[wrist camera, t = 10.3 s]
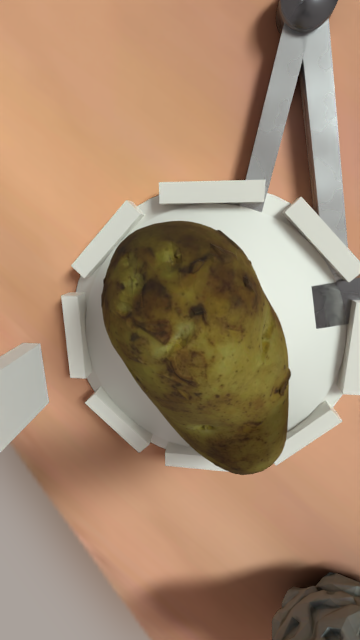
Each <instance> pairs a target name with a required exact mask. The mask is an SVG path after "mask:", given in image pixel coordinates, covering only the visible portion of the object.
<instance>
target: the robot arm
mask: <svg viewBox="0 0 360 640" xmlns="http://www.w3.org/2000/svg"><path fill="white" fill-rule="evenodd" d="M48 403H49V399H48V392H47V385H46V379H45V372H44V366H43V359H42V352H41V346H40V344H37V343H22V344H20V345H19V346H17V347H15V348H14V349H12V350H10V351H9V352H7V353H5V354H4V355H2V356H0V452H1V451H2V450H3V449H4V448H5V447H6V446H7V445H8V444H9V443H10V442H11V441H12V440H13V439H14V438H15V437H16V436H17V435H18V434H19V433H20V432H21V431H22V430H23V429H24V428H25V427H26V426H27V425H28V424H29V423H30V422H31V421H32V420H33V418H34V417H35V416H36V415H37V414H38V413H39V412H40V411H41V410H42V409H43V408H44V407H45V406H46V405H47V404H48Z"/></svg>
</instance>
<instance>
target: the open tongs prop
mask: <svg viewBox="0 0 360 640" xmlns="http://www.w3.org/2000/svg"><path fill="white" fill-rule="evenodd" d="M337 1H338V0H279V4H278V8H277V13H276V24H277V28H278V31H279V33H280V35H281V36H280V40H279V44H278V48H277V53H276V57H275V61H274V65H273V69H272V73H271V77H270V81H269V85H268V89H267V93H266V97H265V101H264V106H263V110H262V114H261V118H260V122H259V126H258V130H257V134H256V138H255V142H254V146H253V150H252V154H251V159H250V163H249V167H248V171H247V175H246V179H245V180H266V181H265V197H264V202H265V199H266V195H267V191H268V187H269V184H270V180H271V176H272V172H273V169H274V165H275V161H276V157H277V154H278V150H279V146H280V142H281V139H282V135H283V131H284V128H285V124H286V120H287V116H288V113H289V109H290V105H291V101H292V98H293V94H294V90H295V86H296V83H297V79H298V75H299V79H300V89H301V98H302V108H303V117H304V126H305V136H306V145H307V154H308V164H309V173H310V182H311V192H312V201H313V210H314V211H315V212H316V213H317V214H318V216H319V217H320V218H321V219H322V220H323V221H324V222H325V223H326V224H327V226H328V227H329V228H330V229H331V230H332V231H333V232H334V233H335V234H336V236H337V237H338V238H339V239H340V240H341V241H342V242H343V243H344V244H345V246H346V247H347V248H348V244H347V232H346V220H345V208H344V196H343V184H342V172H341V160H340V148H339V136H338V124H337V112H336V100H335V88H334V76H333V64H332V52H331V41H330V29H329V18H330V16H331V14H332V12H333V10H334V8H335V6H336V4H337ZM264 202H263V203H240V205H239V206H240V207H245V208H250V209H253V210H256V211H259V212H262V210H263V206H264ZM324 261H325V259H324ZM325 262H326V261H325ZM326 264H327V265H328V267H329V269H330V270H331V272H332V274H333V276H334V277H335V280H336V282H337V284H335V283H332V284H335V286H336V288H337V289H338V291H339V290H340V295H341V296H342V297H341V296H339V297H340V298H341V299H342V302H343V304H344V305H342V303H340V305H341V307H343V309H344V310H345V312H344V313H345V314H344V313H343V315H345V316H346V319H345V317H344V316H343V315H342V316H341V314H340V313H341V309H342V308H341V309H340V305H339V303H337V302H338V301H336V300H337V299H338V298H339V297H337V299H336V300H335V302H336V304H338V305H339V309H338V308H337V309H338V310H340V311H339V314H340V316H339V317H338V314H337V313H338V312H336V311H334V313H336V314H337V315H336V314H335V316H333V314H334V313H333V310H331V309H334V308H333V307H335V308H336V306H337V305H336V304H334V303H335V302H334V300H330V299H328V298H330V297H332V298H331V299H335V298H336V296H338V295H337V294H336V293H337V292H338V291H337V290H336V291H334V289H333V288H331V285H332V284H331V285H330V283H329V284H328V285H330V286H329V288H331V289H333V290H332V291H331V290H330V289H329V288H328V289H327V287H328V286H327V284H326V286H327V287H326V286H325V285H324V284H322V285H323V286H325V287H326V288H325V287H324V290H322V289H323V286H322V285H320V286H321V287H322V288H321V287H320V286H319V285H316V286H317V287H318V289H319V290H318V289H317V287H316V286H314V288H313V287H312V286H311V287H312V296H313V297H314V298H313V302H314V303H313V305H314V313H315V322H316V329H319V328H322V327H323V328H326V327H332V326H333V325H335V324H336V325H338V324H340V325H341V323H342V325H344V324H349V318H350V311H351V304H352V300H360V274H359V275H358V276H357V277H355V278H354V279H353V280H352V281H350V282H346V281H344V280H343V279H342V278H341V277H340V276H339V275H338V274H337V273H336V272H335V270H334V269H333V268H332V267H331V266H330V265H329V264H328V263H327V262H326ZM333 286H334V285H332V287H333ZM335 286H334V288H335ZM319 287H320V288H321V289H320V288H319ZM325 290H327V293H326V291H325ZM328 290H330V292H331V293H329V291H328ZM316 291H317V293H316ZM320 291H321V292H320ZM324 291H325V292H324ZM333 292H335V294H336V295H335V294H333V295H335V298H334V296H331V295H332V293H333ZM323 293H324V294H323ZM329 294H330V297H328V295H329ZM338 294H339V292H338ZM318 295H319V296H318ZM325 295H326V296H325ZM324 296H325V297H326V298H325V297H324ZM323 298H324V300H325V299H326V300H325V301H324V300H323ZM327 299H328V303H327ZM329 300H330V301H329ZM323 301H324V302H326V303H323ZM331 301H332V303H333V307H331V308H330V306H332V304H331ZM340 301H341V300H340ZM340 301H339V302H340ZM316 302H317V303H316ZM315 304H316V305H315ZM329 304H330V306H329ZM324 305H325V306H324ZM326 305H327V307H326ZM334 305H335V306H334ZM317 307H318V308H317ZM328 307H329V308H330V309H329V308H328ZM337 307H338V306H337ZM324 308H325V309H324ZM327 308H328V310H326V309H327ZM319 309H320V310H319ZM323 309H324V310H323ZM335 310H336V309H335ZM338 310H337V311H338ZM325 311H326V312H325ZM328 311H329V312H331V311H332V312H331V313H329V312H328ZM342 312H343V311H342ZM321 313H322V314H321ZM325 313H326V314H327V316H328V317H326V314H325ZM332 313H333V314H332ZM316 314H317V315H316ZM329 315H330V316H329ZM331 315H332V316H333V317H334V318H331V319H332V320H333V321H334V320H336V318H337V317H338V319H340V317H341V318H342V317H344V319H342V320H344V322H345V320H346V323H344V322H342V321H341V322H339V321H340V320H341V319H340V320H339V321H338V320H337V321H338V322H337V321H334V322H335V323H334V322H333V321H332V320H330V319H329V318H330V317H332V316H331ZM322 316H323V318H321V317H322ZM328 319H329V320H328ZM316 320H317V321H316ZM320 320H321V321H320ZM322 320H323V321H324V322H323V321H322ZM330 321H331V323H332V322H333V324H332V326H330V325H331V323H330ZM318 322H319V323H318ZM336 322H337V323H338V324H337V323H336ZM323 323H324V324H323ZM327 323H328V324H327ZM329 323H330V325H329ZM343 323H344V324H343ZM319 325H320V326H319ZM321 325H322V326H321ZM336 325H335V326H336ZM338 326H339V325H338Z"/></svg>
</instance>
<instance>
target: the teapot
mask: <svg viewBox="0 0 360 640" xmlns="http://www.w3.org/2000/svg"><path fill="white" fill-rule="evenodd" d="M272 640H360V582H358V581H355V580H353V579H350V578H347V577H345V576H342V575H340V574H337V573H330V572H329V573H328V574H327V575H325V576H324V577H323V578H322V579H321V580H320V582H319V583H318V584H317V585H316V586H311V587H307V588H298V587H292V588H291V589H289V590H288V591H287V593H286V595H285V597H284V599H283V601H282V608H281V609H280V610H278V611H277V613H276V614H275V616H274V617H273V620H272Z"/></svg>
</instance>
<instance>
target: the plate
mask: <svg viewBox="0 0 360 640" xmlns="http://www.w3.org/2000/svg"><path fill="white" fill-rule="evenodd" d="M265 181H266V180H230V181H193V182H159V195H158V196H156V197H153V198H151V199H149V200H147V201H145V202H144V203H142V204H140V205H138V206H136V205H135V204H134V203H133V202H132V201H129V200H126V201H125V202H124V204H123V205H122V206H121V207H120V208H119V209H118V211H117V212H116V213H115V214H114V215H113V217H112V218H111V219H110V220H109V221H108V222H107V224H106V225H105V226H104V227H103V228H102V230H101V231H100V232H99V233H98V234H97V236H96V237H95V238H94V239H93V240H92V241H91V243H90V244H89V245H88V246H87V247H86V249H85V250H84V251H83V252H82V253H81V254H80V256H79V257H78V258H77V259H76V260H75V262H74V263H73V264H72V265H71V266H72V267H73V268H74V269H75V270H76V271H77V272H78V273H79V274H80V275H81V276H80V279H79V281H78V286H77V290H76V292H69V293H66V294H64V295H61V299H62V308H63V317H64V326H65V335H66V344H67V352H68V361H69V370H70V378H84V379H86V378H87V380H88V382H89V383H90V385H91V387H92V388H93V390H94V393H93V394H92V395H91V396H90V397H89V398H88V400H87V401H86V402H85V404H86V405H88V406H89V407H90V408H91V409H92V410H93V411H94V412H95V413H96V414H97V415H98V416H99V417H101V418H102V419H103V420H104V421H105V422H106V423H107V424H108V425H109V426H110V427H111V428H113V429H114V430H115V431H116V432H117V433H118V434H119V435H120V436H121V437H122V438H123V439H124V440H126V441H127V442H128V443H129V444H130V445H131V446H132V447H133V448H134V449H135V450H136V451H138V452H139V453H140V452H141V451H142V450H143V449H145V448H146V447H147V446H148V445H149V444H150V442H151V443H153V444H155V445H157V446H159V447H162V448H164V449H166V451H165V466H174V467H185V468H195V469H206V470H216V471H226V470H224V469H222V468H220V467H218V466H216V465H214V464H213V463H211V462H210V461H209V460H207V459H206V458H204V457H203V456H201V455H200V454H199V453H197V452H196V451H195V450H194V449H193V448H192V447H191V446H190V445H189V444H188V443H187V442H186V441H185V440H184V439H183V438H182V437H181V436H180V435H179V434H178V433H177V432H176V431H175V429H174V428H173V427H172V426H171V425H170V424H169V422H168V421H167V420H166V419H165V418H164V416H163V415H162V414H161V412H160V411H159V410H158V408H157V407H156V406H155V405H154V404H153V403H152V401H151V400H150V399H149V398H148V396H147V395H146V394H145V393H144V392H143V390H142V389H141V388H140V386H139V385H138V384H137V382H136V381H135V379H134V378H133V376H132V375H131V373H130V372H129V370H128V368H127V367H126V365H125V363H124V362H123V360H122V359H121V357H120V356H119V354H118V353H117V352H116V350H115V349H114V347H113V345H112V343H111V341H110V339H109V336H108V334H107V331H106V328H105V325H104V320H103V313H102V307H101V294H102V291H103V286H104V283H103V279H104V278H105V276H106V272H107V269H108V267H109V264H110V261H111V258H112V256H113V254H114V252H115V250H116V248H117V247H118V245H119V244H120V243H121V242H122V241H123V240H124V239H125V238H126V237H127V236H128V235H130V234H131V233H133V232H134V231H136V230H138V229H140V228H143V227H146V226H149V225H152V224H156V223H162V222H168V221H189V222H195V223H199V224H202V225H205V226H208V227H211V228H213V229H215V230H220V231H222V232H223V233H224V234H225V235H226V236H228V237H229V238H230V239H231V240H233V241H234V242H235V243H236V244H237V245H238V246H239V247H240V248H241V249H242V250H243V252H244V253H245V254H246V256H247V257H248V259H249V260H250V261H251V263H252V266H253V268H254V270H255V273H256V275H257V277H258V280H259V282H260V285H261V287H262V289H263V291H264V293H265V295H266V297H267V298H268V300H269V302H270V304H271V306H272V307H273V309H274V311H275V312H276V314H277V316H278V318H279V321H280V323H281V326H282V329H283V333H284V336H285V340H286V345H287V351H288V365H289V369H290V371H291V377H290V379H289V410H288V429H287V437H286V442H285V446H284V449H283V451H282V453H281V455H280V456H279V458H278V459H277V460H276V461H275V462H274V464H275V465H278V464H279V463H281V462H282V461H284V460H285V459H287V458H288V457H290V456H291V455H293V454H294V453H296V452H297V451H299V450H300V449H302V448H303V447H305V446H306V445H308V444H309V443H311V442H312V441H314V440H315V439H317V438H318V437H320V436H321V435H323V434H324V433H326V432H327V431H329V430H330V429H332V428H333V427H335V426H336V425H338V424H339V423H341V422H342V420H341V418H340V416H339V415H338V413H337V411H336V410H335V409H334V408H333V407H334V405H335V404H336V403H337V401H338V400H339V399H340V397H341V396H342V394H350V395H360V300H352V304H351V311H350V318H349V324H344V323H346V320H345V322H344V320H342V319H344V317H345V319H346V316H345V315H343V313H344V312H345V310H344V309H343V307H341V305H340V303H342V305H344V304H343V302H342V299H341V298H340V297H339V296H341V295H340V290H339V291H338V289H337V288H336V286H335V284H337V282H336V280H335V277H334V276H333V274H332V272H331V270H330V269H329V267H328V265H327V264H326V262H327V263H328V264H329V265H330V266H331V267H332V268H333V269H334V270H335V272H336V273H337V274H338V275H339V276H340V277H341V278H342V279H343V280H344V281H346V282H350V281H352V280H353V279H354V278H355V277H357V276H358V275H359V274H360V261H359V260H358V259H357V258H356V257H355V256H354V254H353V253H352V252H351V251H350V250H349V249H348V248H347V247H346V246H345V244H344V243H343V242H342V241H341V240H340V239H339V238H338V237H337V236H336V234H335V233H334V232H333V231H332V230H331V229H330V228H329V227H328V226H327V224H326V223H325V222H324V221H323V220H322V219H321V218H320V217H319V216H318V214H317V213H316V212H315V211H314V210H313V209H312V208H311V207H310V206H309V204H308V203H307V202H306V201H305V200H304V199H303V198H302V197H299V198H297V199H296V200H295V201H294V202H293V203H292V204H291V203H289V202H287V201H285V200H283V199H281V198H279V197H277V196H275V195H272V194H269V193H267V195H266V199H265V202H264V197H265ZM263 202H264V206H263V210H262V212H259V211H256V210H253V209H250V208H245V207H240V206H239V205H240V203H263ZM324 259H325V261H326V262H325V261H324ZM329 283H330V285H331V284H332V283H335V284H332V285H334V286H335V288H334V286H333V287H332V285H331V288H333V289H334V291H336V290H337V291H338V292H339V294H338V292H337V293H336V294H337V295H338V296H336V298H335V295H336V294H335V292H333V293H332V295H331V296H334V298H335V299H331V298H332V297H330V294H329V295H328V297H330V298H328V299H330V300H334V302H335V300H336V299H337V297H339V298H338V299H337V300H336V301H338V302H337V303H339V305H340V309H341V308H342V309H341V313H340V314H341V316H342V315H343V316H344V317H342V318H341V317H340V319H341V320H340V319H338V317H339V316H340V314H339V311H340V310H338V309H339V305H338V304H336V302H335V303H334V304H336V305H337V306H338V307H337V306H336V308H335V307H333V303H332V301H331V304H332V306H330V304H329V306H330V308H331V307H333V308H334V309H331V310H333V313H334V311H336V312H338V313H337V314H338V317H337V318H336V320H334V321H337V320H338V321H339V320H340V321H339V322H341V321H342V322H344V323H343V324H344V325H342V323H341V325H340V324H338V323H337V322H338V321H337V322H336V323H337V324H338V325H339V326H338V325H336V324H335V325H336V326H335V325H333V326H332V324H333V322H334V321H333V320H332V319H331V318H334V317H333V316H335V314H336V313H334V314H333V313H332V314H333V316H332V315H331V316H332V317H330V318H329V319H330V320H332V321H333V322H332V323H331V321H330V323H331V325H330V323H329V325H330V326H332V327H326V328H323V327H322V328H319V329H316V322H315V313H314V305H313V303H314V302H313V298H314V297H313V296H312V287H313V288H314V286H316V285H319V286H320V285H322V284H324V285H325V286H326V284H327V286H328V287H327V286H326V287H327V289H328V288H329V286H330V285H328V284H329ZM311 286H312V287H311ZM322 286H323V285H322ZM325 286H323V289H322V290H324V287H325ZM316 287H317V286H316ZM320 287H321V286H320ZM320 287H319V288H320ZM326 287H325V288H326ZM321 288H322V287H321ZM321 288H320V289H321ZM331 288H329V289H330V290H331V291H332V290H333V289H331ZM317 289H318V287H317ZM318 290H319V289H318ZM330 290H328V291H329V293H331V292H330ZM325 291H326V293H327V290H325ZM325 291H324V292H325ZM320 292H321V291H320ZM316 293H317V291H316ZM323 294H324V293H323ZM333 294H335V295H333ZM318 296H319V295H318ZM325 296H326V295H325ZM325 296H324V297H325ZM341 297H342V296H341ZM325 298H326V297H325ZM328 299H327V303H328ZM323 300H324V298H323ZM325 300H326V299H325ZM325 300H324V301H325ZM330 300H329V301H330ZM340 300H341V301H340ZM324 301H323V303H326V302H324ZM339 301H340V302H339ZM316 303H317V302H316ZM315 305H316V304H315ZM324 306H325V305H324ZM334 306H335V305H334ZM326 307H327V305H326ZM317 308H318V307H317ZM328 308H329V307H328ZM328 308H327V309H326V310H328ZM330 308H329V309H330ZM337 308H338V309H337ZM324 309H325V308H324ZM324 309H323V310H324ZM335 309H336V310H335ZM319 310H320V309H319ZM337 310H338V311H337ZM342 311H343V312H342ZM325 312H326V311H325ZM328 312H329V311H328ZM331 312H332V311H331ZM331 312H329V313H331ZM321 314H322V313H321ZM325 314H326V313H325ZM337 314H336V315H337ZM344 314H345V313H344ZM316 315H317V314H316ZM329 316H330V315H329ZM326 317H328V316H327V314H326ZM321 318H323V316H322V317H321ZM329 319H328V320H329ZM316 321H317V320H316ZM320 321H321V320H320ZM322 321H323V320H322ZM323 322H324V321H323ZM318 323H319V322H318ZM334 323H335V322H334ZM323 324H324V323H323ZM327 324H328V323H327ZM319 326H320V325H319ZM321 326H322V325H321ZM227 472H229V471H227Z"/></svg>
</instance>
